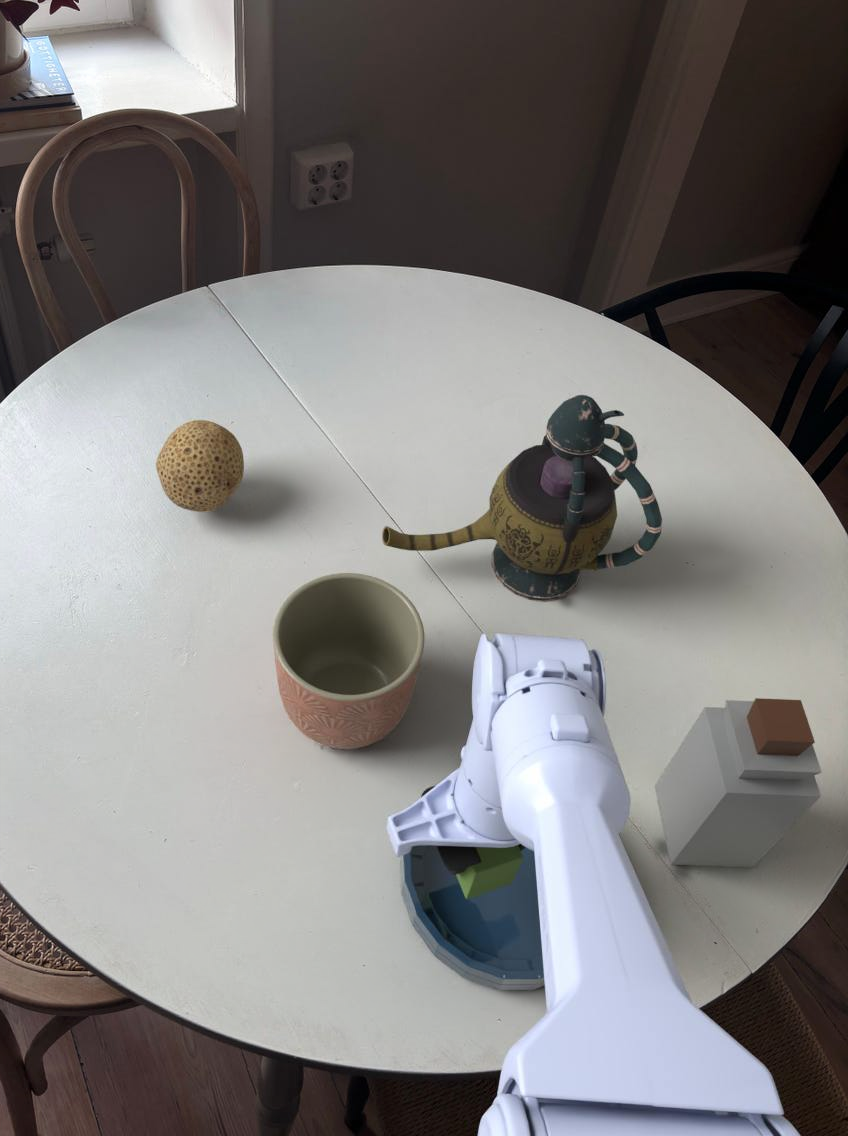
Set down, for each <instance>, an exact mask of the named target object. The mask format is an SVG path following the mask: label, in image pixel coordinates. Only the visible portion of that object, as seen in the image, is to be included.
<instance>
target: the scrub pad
mask: <svg viewBox="0 0 848 1136" xmlns="http://www.w3.org/2000/svg"><path fill="white" fill-rule="evenodd" d="M476 849H477V852H478V854H479V856H480V859H481V861H482V862H481V863H479V864H476V865H473V866H470V867H467V868H466V870H465V871H464V872H462V873H459V874H456V876H457V878H458V881H459V883H460V886H461V888H462V891H463V893H464V896H465V898H466V899H470V898H472V897H475V896H478V895H481V894H484V893H487V892H489V891H492V890H495V889H498V888H501V887H504V886H507V885H509V884H511V883H512V881H513V879H514V877H515V875H516V873H517V870H518V868H519V866H520V864H521V862H522V860H523V855H522V853H521V851H520V849H519V846H518V845H516V846H513V847H507V848H492V847H476Z"/></svg>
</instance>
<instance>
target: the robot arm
mask: <svg viewBox="0 0 848 1136" xmlns="http://www.w3.org/2000/svg"><path fill="white" fill-rule="evenodd" d="M605 669H606V668H605V665H604V660H603V657H602V655H601V652H600V651H599V650H598V649H596V648H595V649H594V648H593V649H589V648H588V645H587V643H586V641H585V640H584V639H582V638H574V637H573V638H571V637H557V636H545V635H544V636H543V635H530V634H529V635H528V634H516V633H500V632H497V633H495V634H494V635H493V638H492V640H491V641H489V638H488V635H487V634H486V633H482V634H481V636H480V638H479V642H478V645H477V649H476V653H475V657H474V662H473V671H472V681H471V683H472V684H471V708H472V709H471V710H472V717H473V718H472V721H471V725H470V728H469V733H468V737H467V739H466V742H465V743H466V745H464V746H463V747H462V749H461V751H460V758H461V761H460V766H459V767H458V768H457V769H455V771H453V772H451V773H450V774H449V775H447V777H445V778H444V779H443V780H442V781H440V782H439V783H437V784H436V785H433V786H429V787H427V788H425V790H423V792H422V793H421V795H420V798H419V799H417V800H416V801H415V802H414V803H412V804H410V805H409V806H408V807H406V808H404V809H403V810H400V811H398V812H396V813H393V814H390V815H389V816H387V821H386V832H387V835H388V838H389V840H390V844H391V846H392V849H393V851H394V854H395V857H397V858H399V857H401V856H402V855H405V854H408V853H410V852H411V849H412V846H418V845H436V847H437V849H438V852H439V854H440V857H441V859H442V862H443V863H444V865H445V867H446V868H447V870H448V871H451V874H452V875H456V874H459V873H462V872H464V871H465V870H466V868H467V867H470V866H473V865H476V864H479V863H481V862H482V861H481V859H480V856H479V854H478V852H477V849H476V847H492V848H507V847H513V846H516V845H518V846H519V849H520V851H522V850H523V849H524V848H528V849H530V850H532V851H534V853H535V866H536V878H537V891H538V904H539V917H540V930H541V942H542V955H543V968H544V981H545V986H544V991H545V992H544V993H545V1007H546V1013H545V1014H544V1016H542V1017H541V1018H540V1019H539V1020H538V1021H537V1022H536V1023H535V1024H534V1025H533V1026H532V1027H531V1028H529V1030H528V1031H526V1032H525V1033H524V1034H523V1035H522V1036H521V1037H520V1038H519V1039H518V1040H517V1041H516V1042H514V1044H512V1046H511V1047H510V1049H509V1050H508V1051H507V1053H506V1055H505V1058H504V1061H503V1063H502V1067H501V1071H500V1076H499V1082H498V1087H497V1092H496V1093H497V1095H496V1097H495V1098H494V1100H493V1102H492V1104H491V1106H489V1108H488V1109H487V1110H486V1111H485V1112H484V1113H483V1115H482V1116H481V1118H480V1122H479V1126H478V1131H477V1136H802V1135H801V1134H800V1132H798V1130H797V1129H796V1128H795V1127H794V1125H793V1124H792V1123H791V1122H790V1121H789V1120H788V1119H786V1117H784V1116H783V1115H784V1114H785V1112H784V1108H783V1105H782V1102H781V1098H780V1095H779V1093H778V1089H777V1085H776V1083H775V1081H774V1077H773V1075H772V1073H771V1072H770V1070H769V1069H768V1068H767V1066H765V1064H764V1063H763V1062H762V1061H760V1060H759V1058H757V1057H756V1056H755V1055H753V1054H752V1053H751V1052H750V1051H749V1050H748V1049H746V1048H745V1047H744V1046H743V1045H742V1044H740V1043H739V1042H738V1041H737V1040H736V1039H735V1038H734V1037H733V1036H732V1035H730V1034H729V1033H728V1032H726V1030H725V1029H723V1028H722V1026H720V1025H719V1024H718V1023H717V1022H715V1021H714V1020H713V1019H712V1018H711V1017H710V1016H708V1015H707V1014H706V1013H705V1012H704V1011H703V1010H702V1009H700V1008H699V1007H698V1006H697V1005H696V1004H695V1003H694V1002H693V1000H692V999H691V996H690V994H689V992H688V989H687V987H686V984H685V983H684V980H683V978H682V975H681V974H680V971H679V968H678V967H677V965H676V962H675V960H674V958H673V955H672V953H671V951H670V948H669V946H668V944H667V941H666V938H665V937H664V935H663V932H662V930H661V928H660V925H659V924H658V921H657V919H656V917H655V915H654V912H653V909H652V908H651V905H650V902H649V901H648V898H647V897H646V894H645V892H644V889H643V887H642V885H641V883H640V880H639V878H638V876H637V874H636V871H635V869H634V867H633V865H632V862H631V859H630V858H629V855H628V852H627V851H626V848H625V846H624V844H623V841H622V839H621V837H620V834H621V832H622V831H623V828H624V827H625V825H626V823H627V821H628V818H629V816H630V815H629V814H630V811H631V810H630V809H631V795H630V789H629V787H628V784H627V780H626V778H625V776H624V772H623V769H622V767H621V764H620V760H619V758H618V755H617V753H616V750H615V749H616V748H615V747H614V744H613V741H612V738H611V735H610V732H609V729H608V727H607V723H606V721H605V718H604V717H605V712H606V711H605V710H606V704H607V703H606V701H607V681H606V670H605Z"/></svg>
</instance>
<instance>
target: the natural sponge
mask: <svg viewBox="0 0 848 1136" xmlns="http://www.w3.org/2000/svg"><path fill="white" fill-rule="evenodd" d="M155 468H156V472H157V475H158V479H159V482H160V485H161V488H162V490H163V492H164V494H165V496H166V497H167V498H168V499H169V500H170V501H171V502H172V503H173V504H174V505H176V506H177V507H180V508H182V509H184V510H188V511H191V512H199V513H207V512H212V511H214V510H217V509H218V508H220V507H222V506H223V505H224V504H225V503H226V502H227V501H228V500H229V499H230V498H231V497H232V495H234V493H235V492H236V490H237V489H238V488H239V487H240V485H241V483H242V480H243V479H244V478H243V477H244V472H245V471H244V470H245V460H244V453H243V448H242V446H241V444H240V442H239V440H238V438H237V437H236V436H235V435H234V433H232V432H231V431H230V430H229V429H227V428H226V427H224V426H223V425H220V424H218V423H216V422H213V421H211V420H203V419H197V420H190V421H187V422H185V423H183V424H181V425H180V426H178V427H177V428H175V429H174V430H173V431H172V432H171V433H170V435H169V436H168V437H167V438H166V440H165V442H164V444H163V445H162V448H161V450H160V452H159V453H158V456H157V458H156V461H155Z"/></svg>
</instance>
